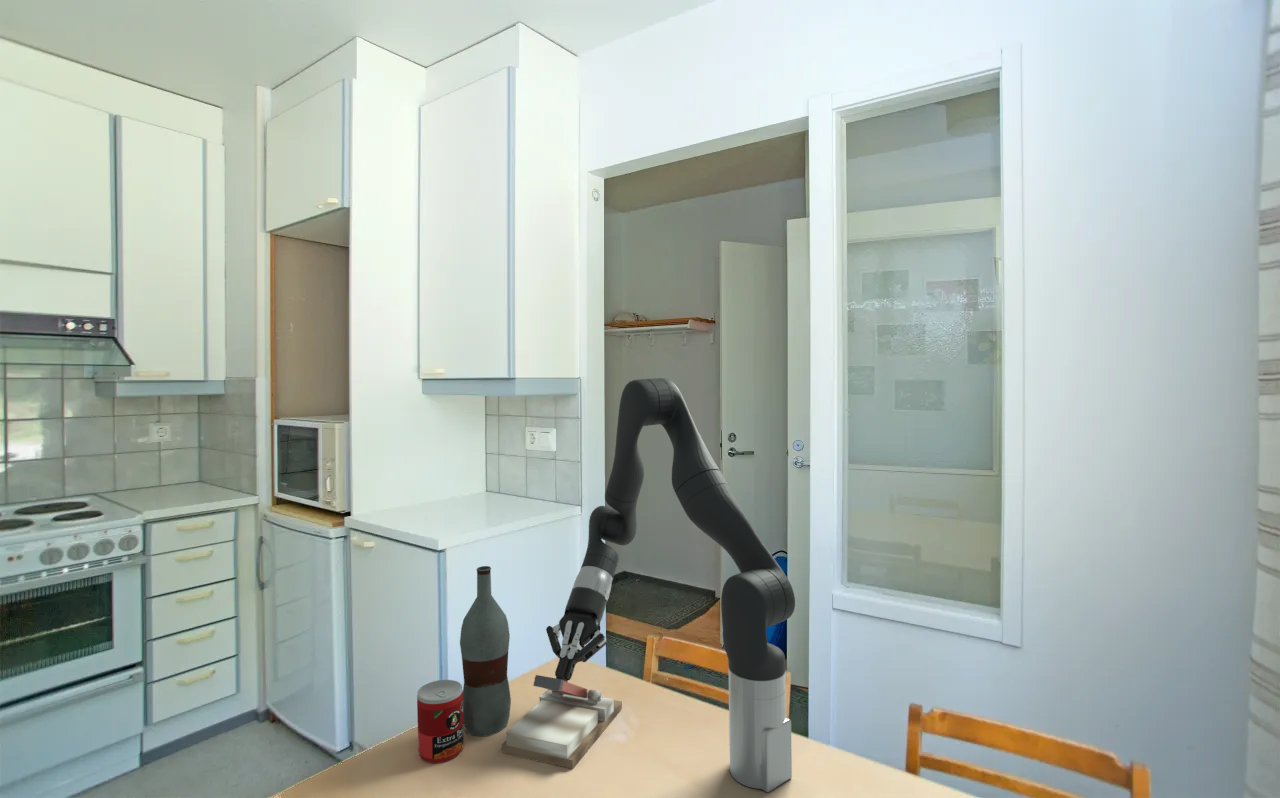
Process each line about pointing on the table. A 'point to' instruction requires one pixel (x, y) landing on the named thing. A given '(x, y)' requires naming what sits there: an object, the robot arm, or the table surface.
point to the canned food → (440, 720)
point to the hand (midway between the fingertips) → (561, 681)
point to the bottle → (485, 662)
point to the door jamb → (561, 728)
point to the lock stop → (560, 686)
